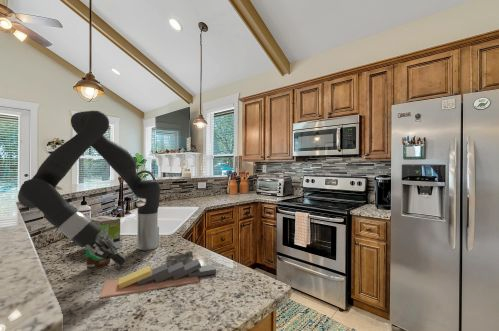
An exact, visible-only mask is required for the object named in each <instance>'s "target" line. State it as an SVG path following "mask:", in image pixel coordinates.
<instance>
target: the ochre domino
mask: <svg viewBox="0 0 499 331" xmlns="http://www.w3.org/2000/svg"><path fill="white" fill-rule="evenodd" d="M151 270H152V267H151V265H148V266H146V267H144V268H141V269H138V270H136V271H134V272H132V273H129V274H127V275H124V276H121V277H119V278H118V279H119V283H118V285H119V288H120V289H121V288H124V287H126V286H128V285H131V284H133V283H135V282H137V281H140V280H142V279H144V278H147V277H149V276H151V275H152V272H151Z"/></svg>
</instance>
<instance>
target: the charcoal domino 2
mask: <svg viewBox="0 0 499 331" xmlns="http://www.w3.org/2000/svg"><path fill="white" fill-rule="evenodd" d="M167 267H168V271H169V273H167V274H165V275H163V276H160V277H158V278H156V279H155V281H156V283H158V282H160V281H162V280H165V279H167V278H169V277H171V276H174V275H176V274H178V273H180V272H183V271H185V268H184V265H183V263H182V262H179V263H177V264H175V265H172V266H170V267H169V266H167Z"/></svg>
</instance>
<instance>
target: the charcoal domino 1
mask: <svg viewBox="0 0 499 331" xmlns="http://www.w3.org/2000/svg"><path fill="white" fill-rule="evenodd" d="M168 267H169V266H167V264H166V263H164V264H161V265H160V266H157V267H154V268H151V272H152V275H151V276H149V277H147V278H144V279H142V280H140V281H137V283H138V286H140V285H142V284H144V283H147V282H149V281H151V280H153V279H156V278H158V277H160V276H163V275H165V274H167V273H169V271H168Z"/></svg>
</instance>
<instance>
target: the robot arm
mask: <svg viewBox="0 0 499 331" xmlns="http://www.w3.org/2000/svg"><path fill="white" fill-rule="evenodd" d="M70 125H71V127H72V130H74V132H75V133H76V134H75V135H74V136H73V137H72V138H70V139H68V140H67V141H66V142H64V143H63V144H61V145H60V146H58V147H57V148H56V149H54V150H53V151H52V152H51V153H50V154H49V155H48V156H47V158H45V160H43V161H42V163H41V164H40V166H39V168H38V169H37V171H36V173H35V175H33V177H31V178H30V179H28V180H26V181H24V182H23V183H22V184H21V186H20V188H19V191H18V194H17V199H18V203H20V205H22V206H23V207H25V208H27V209H28V208H30V209H32V208H34V209H35V208H37V210H39V211H40V212H41V213H42V214H43V217H44V219H45V220H46V221H47V222H49V224H51V225H52V226H54V227H55V228H56V229H58V231H59V232H61V234H63V235H64V236H65V237H66V238H68V239H70V241H72V242H73V243H74V244H76V246H78V247H80V248H81V249H82V248H83V249H84V247H85V246H86V245H87V244H88V245H89V246H90V247H91V248H92V250H93V251H95V253H94V254H95V255H96V256H99V257H101V258H104V259H106V260H109V259H110V261H111V260H112V261H113V262H114V263H115V264H117V265H118V266H122V265H123V264H125V263H126V257H124V256H122V255H121V254H120V253H119V252H118V249H116V247H115V246H114V245H113V244H112V243H111V241H110V240H109V239H108V238H105V237H102V236H100V235H98V233H99V232H100V231H101V228H100V227H99V226H98V225H97V224H95V223H94V222H93V221H92V220H90V219H89V218H90V217H88V216H87V215H85V214H84V213H82V212H80V211H79V210H78V209H76V208H75V207H74V206H73V205H72V204H70V203H68V201H66V200H65V198H64V197H63V196H62V195H61V193H60V192H59V191H58V190H57V189H56V188H57V186H58V184H59V183H60V182H61V181H62V180H63V179H64V177H66V175H67V174H68V173H69V172H70V170H71V169H72V167H73V166H74V165H75V164H76V162H77V161H79V159H80V158H81V156H82V155H84V153H85V152H86V151H87V150H88V149H89V148H91V147H92V148H93V149H94V150H95V151H96V153H98V154H99V155H100V156H101V157H102V159H104V160H105V161H106V162H107V164H108V165H109V167H111V169H112V170H113V171H114V172H116V173H117V175H119V176H120V178H121V179H122V181H124V182H125V183H126V184H127V185H128V187H129V188H130V190H131V191H132V193H133V194H134V195H135V196H136V197H137V198H138V199H141V200H145V203H144V205H141V206H139V207H137V237H136V238H137V246H136V247H137V250H139V251H151V250H155V249H156V248H157V247H158V246H160V245H159V244H160V227H159V226H158V224H159V222H158V218H159V216H158V215H159V214H158V213H159V211H158V209H159V207H160V195H161V187H160V183H159V182H158V180H150V179H149V180H146V179H143V178H141V177H140V175H139V174H138V173H137V163H136V160H135V159H134V157H133V156H132V154H131V153H130V152H129V151H128V149H126V148H125V147H123V146H122V145H121V144H118V143H117V142H115V141H113V140H111V139H109V138H108V137H106V135H105V134H106V133H107V131H108V129H109V127H110V120H109V118H108V116H107V115H106V114H105V112H103V111H101V110H87V111H80V112H79V111H78V112H75V113H73V114H72V115H71V118H70Z"/></svg>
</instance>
